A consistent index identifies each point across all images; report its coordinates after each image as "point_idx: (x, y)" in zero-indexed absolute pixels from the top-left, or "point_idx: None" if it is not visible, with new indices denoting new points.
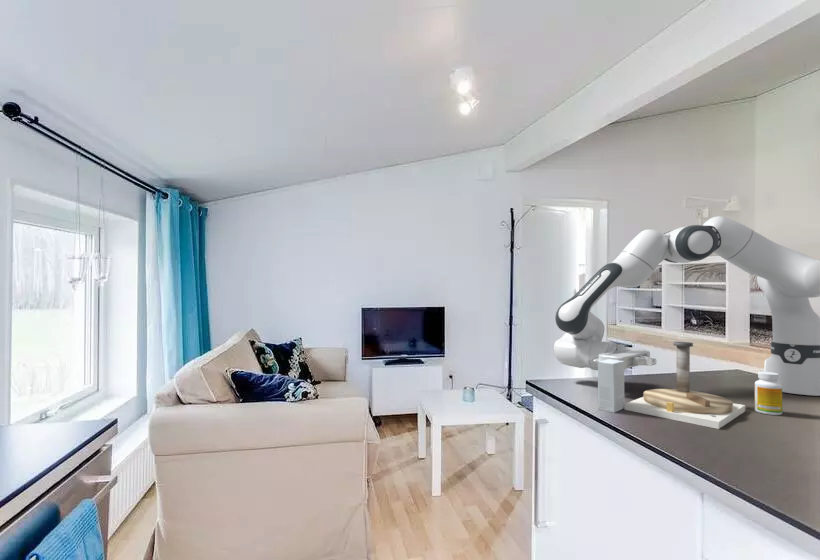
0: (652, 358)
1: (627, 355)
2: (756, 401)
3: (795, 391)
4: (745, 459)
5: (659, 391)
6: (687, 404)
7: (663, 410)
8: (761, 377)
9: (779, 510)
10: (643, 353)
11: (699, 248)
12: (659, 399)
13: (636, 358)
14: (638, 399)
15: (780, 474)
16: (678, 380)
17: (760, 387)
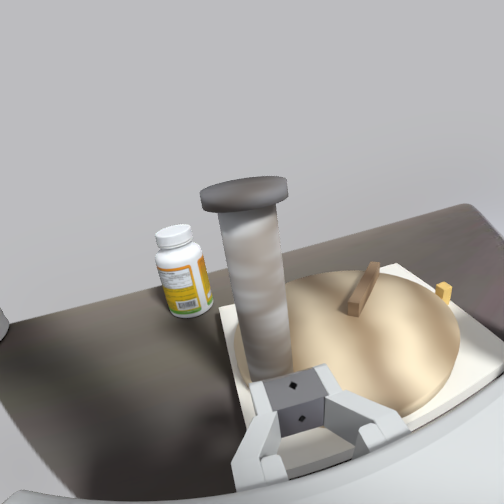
0: (271, 388)
1: (491, 395)
2: (202, 292)
3: (3, 330)
4: (442, 231)
5: (371, 384)
6: (404, 286)
7: (452, 307)
8: (190, 238)
9: (473, 206)
10: (154, 501)
11: None
12: (444, 316)
13: (399, 420)
14: (460, 386)
15: (435, 219)
16: (290, 343)
17: (201, 257)
